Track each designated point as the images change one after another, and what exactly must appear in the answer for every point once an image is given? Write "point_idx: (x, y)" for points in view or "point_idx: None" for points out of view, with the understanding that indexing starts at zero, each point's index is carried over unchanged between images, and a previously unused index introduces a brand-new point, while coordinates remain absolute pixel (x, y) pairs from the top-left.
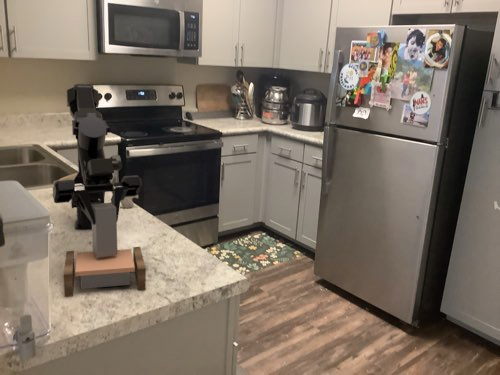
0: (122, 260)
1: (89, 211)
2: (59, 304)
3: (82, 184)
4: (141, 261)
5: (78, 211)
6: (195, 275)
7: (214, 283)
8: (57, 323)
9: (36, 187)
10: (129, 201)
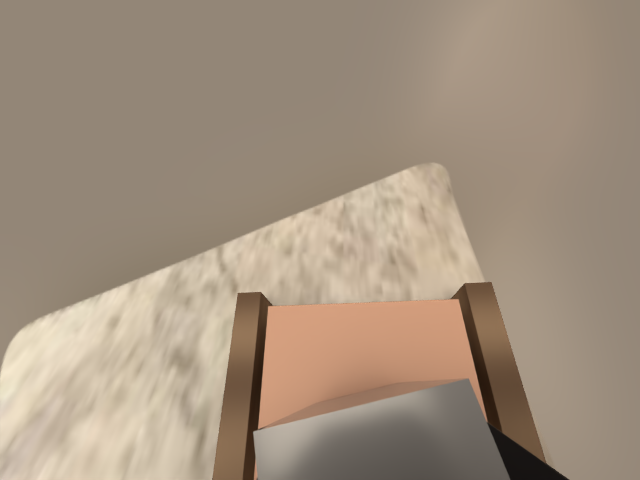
0: (301, 371)
1: (538, 469)
2: (467, 270)
3: None
4: (238, 350)
5: None
6: (105, 377)
7: (88, 318)
8: (448, 200)
9: None
10: None
